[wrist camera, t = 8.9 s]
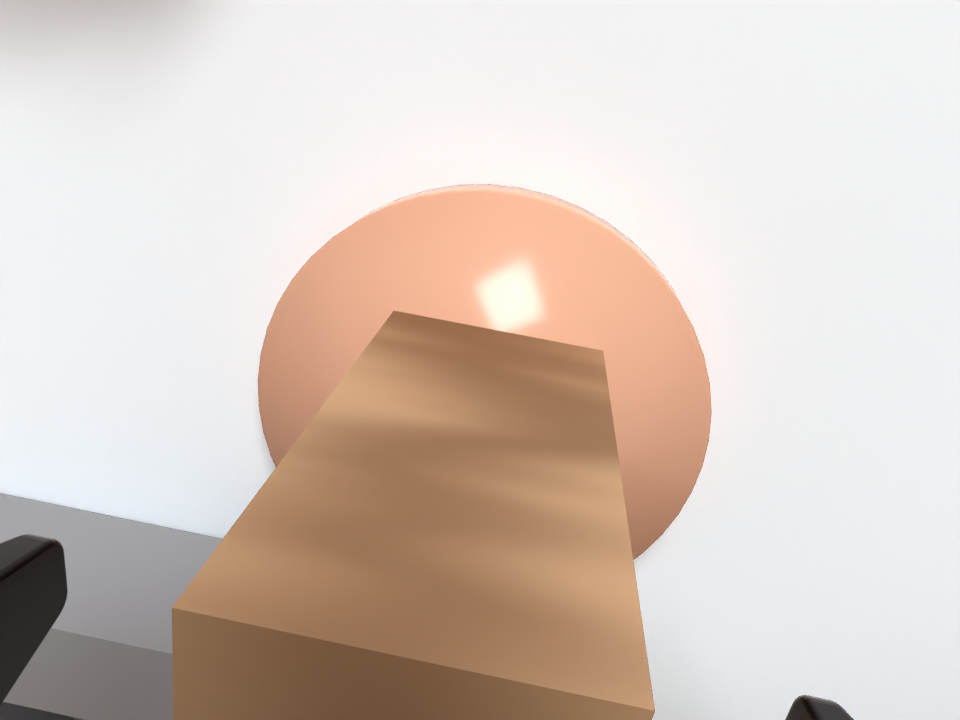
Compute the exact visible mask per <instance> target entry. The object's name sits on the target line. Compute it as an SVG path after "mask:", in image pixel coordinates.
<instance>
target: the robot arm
mask: <svg viewBox="0 0 960 720" xmlns="http://www.w3.org/2000/svg"><path fill="white" fill-rule="evenodd" d="M67 593H68V588H67V577H66V567H65V556H64V548H63V546H62V544H61V542H60V541H58V540H56V539H53V538H49V537H44V536H39V535H34V534H23V535H20V536H17V537H15V538H12V539H9V540H7V541H4V542H2V543H0V706H1V704H2V703H3V701H4V700H5V698H6V696H7V695H8V693H9V692H10V690H11V689H12V687H13V686H14V684H15V683H16V681H17V680H18V678H19V676H20V675H21V673H22V672H23V670H24V669H25V667H26V666H27V664H28V663H29V661H30V660H31V658H32V657H33V655H34V653H35V652H36V650H37V649H38V647H39V646H40V644H41V643H42V641H43V640H44V638H45V637H46V635H47V633H48V632H49V630H50V629H51V627H52V626H53V624H54V623H55V621H56V620H57V618H58V617H59V615H60V613H61V612H62V610H63V608H64V605H65V603H66V599H67ZM785 720H854V719H853V718H852V717H851V716H850V715H849V714H848V713H847V712H846V711H845V710H844V709H843V708H842V707H841V706H840V705H839V704H837V703H836V702H833V701H831V700H826V699H821V698H817V697H812V696H807V695H802V696H799V697H798V698H796V699H795V701H794V702H793V704H792V706H791V708H790V711H789V713H788V715H787V717H786V719H785Z"/></svg>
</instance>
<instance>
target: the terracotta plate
mask: <svg viewBox="0 0 960 720" xmlns="http://www.w3.org/2000/svg"><path fill="white" fill-rule="evenodd" d="M393 311H399V312H404V313H409V314H415V315H420V316H425V317H430V318H435V319H441V320H446V321H451V322H456V323H462V324H467V325H472V326H477V327H482V328H488V329H493V330H498V331H503V332H509V333H514V334H519V335H524V336H529V337H535V338H540V339H545V340H550V341H556V342H561V343H566V344H571V345H576V346H582V347H587V348H592V349H597V350H603V353H604V360H605V367H606V374H607V381H608V388H609V395H610V402H611V409H612V416H613V423H614V430H615V437H616V444H617V451H618V458H619V465H620V471H621V478H622V485H623V492H624V499H625V506H626V513H627V520H628V527H629V534H630V541H631V548H632V555H633V560H634V559H635V558H637V557H638V556H639V555H641V554H642V553H643V552H644V551H645V550H646V549H648V548H649V547H650V546H651V545H652V544H653V543H654V542H655V541H656V540H657V539H658V538H659V537H660V536H661V535H662V534H663V533H664V532H665V530H666V529H667V528H668V527H669V525H670V524H671V523H672V522H673V520H674V519H675V518H676V517H677V515H678V514H679V512H680V511H681V509H682V507H683V506H684V504H685V502H686V501H687V499H688V497H689V496H690V494H691V492H692V490H693V488H694V485H695V483H696V481H697V478H698V476H699V473H700V471H701V468H702V466H703V462H704V458H705V454H706V450H707V446H708V442H709V433H710V423H711V396H710V383H709V378H708V373H707V368H706V364H705V359H704V355H703V352H702V349H701V347H700V344H699V341H698V339H697V336H696V333H695V331H694V328H693V326H692V324H691V322H690V320H689V318H688V316H687V315H686V313H685V311H684V309H683V307H682V305H681V303H680V302H679V300H678V298H677V296H676V294H675V293H674V291H673V289H672V287H671V285H670V284H669V283H668V281H667V280H666V279H665V277H664V276H663V275H662V273H661V272H660V271H659V269H658V268H657V267H656V265H655V264H654V263H653V262H652V261H651V260H650V259H649V258H648V257H647V256H646V255H645V254H644V253H643V252H642V251H641V250H640V249H639V248H638V247H637V246H636V245H635V244H634V243H633V242H632V241H631V240H630V239H629V238H627V237H626V236H625V235H623V234H622V233H621V232H619V231H618V230H617V229H615V228H614V227H613V226H612V225H610V224H609V223H608V222H606V221H604V220H602V219H601V218H599V217H597V216H595V215H593V214H592V213H590V212H588V211H586V210H585V209H583V208H581V207H579V206H576V205H574V204H571V203H569V202H566V201H564V200H561V199H559V198H556V197H554V196H551V195H547V194H543V193H539V192H535V191H531V190H527V189H523V188H518V187H509V186H500V185H491V184H481V185H455V186H449V187H443V188H437V189H430V190H426V191H423V192H419V193H416V194H413V195H410V196H406V197H403V198H400V199H398V200H395V201H393V202H391V203H389V204H387V205H385V206H383V207H380V208H378V209H376V210H374V211H372V212H371V213H369V214H368V215H366V216H364V217H363V218H361V219H360V220H358V221H357V222H355V223H354V224H352V225H351V226H349V227H348V228H346V229H345V230H343V231H342V232H340V233H339V234H337V235H336V236H334V237H333V238H332V239H331V240H329V241H328V242H327V243H326V244H325V245H324V246H323V247H322V248H320V249H319V250H318V251H317V252H316V253H315V254H314V255H313V256H311V258H310V259H309V260H308V261H307V262H306V263H305V265H304V266H303V267H302V268H301V269H300V271H299V272H298V273H297V274H296V275H295V277H294V278H293V279H292V281H291V282H290V284H289V286H288V287H287V289H286V290H285V292H284V294H283V295H282V297H281V299H280V300H279V302H278V304H277V306H276V309H275V311H274V313H273V316H272V318H271V321H270V323H269V325H268V328H267V331H266V335H265V339H264V343H263V347H262V351H261V356H260V366H259V375H258V396H259V410H260V415H261V421H262V427H263V432H264V435H265V439H266V442H267V445H268V448H269V451H270V455H271V457H272V459H273V462H274V464H275V466H276V467H277V466H278V465H279V463H280V462H281V461H282V459H283V458H284V457H285V455H286V454H287V453H288V451H289V450H290V449H291V447H292V446H293V445H294V443H295V442H296V441H297V439H298V438H299V437H300V435H301V434H302V433H303V431H304V430H305V429H306V427H307V426H308V425H309V423H310V422H311V421H312V419H313V418H314V417H315V415H316V414H317V413H318V411H319V410H320V409H321V407H322V406H323V404H324V403H325V402H326V400H327V399H328V398H329V396H330V395H331V394H332V392H333V391H334V390H335V388H336V387H337V386H338V384H339V383H340V382H341V380H342V379H343V378H344V376H345V375H346V374H347V372H348V371H349V370H350V368H351V367H352V366H353V364H354V363H355V362H356V360H357V359H358V358H359V356H360V355H361V354H362V352H363V351H364V350H365V348H366V347H367V346H368V344H369V343H370V342H371V340H372V339H373V338H374V336H375V335H376V334H377V332H378V331H379V330H380V328H381V327H382V326H383V324H384V323H385V322H386V320H387V319H388V318H389V316H390V315H391V314H392V312H393Z"/></svg>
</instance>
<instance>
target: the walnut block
mask: <svg viewBox="0 0 960 720" xmlns="http://www.w3.org/2000/svg"><path fill="white" fill-rule="evenodd" d="M172 652H173V711H174V720H652V717H653V715H654V712H655V708H654V701H653V694H652V687H651V680H650V673H649V667H648V660H647V653H646V646H645V639H644V632H643V625H642V618H641V611H640V604H639V597H638V590H637V583H636V576H635V569H634V562H633V555H632V548H631V541H630V534H629V527H628V520H627V513H626V506H625V499H624V492H623V485H622V478H621V471H620V465H619V458H618V451H617V444H616V437H615V430H614V423H613V416H612V409H611V402H610V395H609V388H608V381H607V374H606V367H605V360H604V353H603V350H597V349H592V348H587V347H582V346H576V345H571V344H566V343H561V342H556V341H550V340H545V339H540V338H535V337H529V336H524V335H519V334H514V333H509V332H503V331H498V330H493V329H488V328H482V327H477V326H472V325H467V324H462V323H456V322H451V321H446V320H441V319H435V318H430V317H425V316H420V315H415V314H409V313H404V312H399V311H393V312H392V314H391V315H390V316H389V318H388V319H387V320H386V322H385V323H384V324H383V326H382V327H381V328H380V330H379V331H378V332H377V334H376V335H375V336H374V338H373V339H372V340H371V342H370V343H369V344H368V346H367V347H366V348H365V350H364V351H363V352H362V354H361V355H360V356H359V358H358V359H357V360H356V362H355V363H354V364H353V366H352V367H351V368H350V370H349V371H348V372H347V374H346V375H345V376H344V378H343V379H342V380H341V382H340V383H339V384H338V386H337V387H336V388H335V390H334V391H333V392H332V394H331V395H330V396H329V398H328V399H327V400H326V402H325V403H324V404H323V406H322V407H321V409H320V410H319V411H318V413H317V414H316V415H315V417H314V418H313V419H312V421H311V422H310V423H309V425H308V426H307V427H306V429H305V430H304V431H303V433H302V434H301V435H300V437H299V438H298V439H297V441H296V442H295V443H294V445H293V446H292V447H291V449H290V450H289V451H288V453H287V454H286V455H285V457H284V458H283V459H282V461H281V462H280V463H279V465H278V466H277V467H276V469H275V470H274V471H273V473H272V474H271V475H270V477H269V478H268V479H267V481H266V482H265V483H264V485H263V486H262V487H261V489H260V490H259V491H258V493H257V494H256V495H255V497H254V498H253V499H252V501H251V502H250V503H249V505H248V506H247V508H246V509H245V510H244V512H243V513H242V514H241V516H240V517H239V518H238V520H237V521H236V522H235V524H234V525H233V526H232V528H231V529H230V530H229V532H228V533H227V534H226V536H225V537H224V538H223V540H222V541H221V542H220V544H219V545H218V546H217V548H216V549H215V550H214V552H213V553H212V554H211V556H210V557H209V558H208V560H207V561H206V562H205V564H204V565H203V566H202V568H201V569H200V570H199V572H198V573H197V574H196V576H195V577H194V578H193V580H192V581H191V582H190V584H189V585H188V586H187V588H186V589H185V590H184V592H183V593H182V594H181V596H180V597H179V598H178V600H177V601H176V602H175V604H174V605H173V607H172Z"/></svg>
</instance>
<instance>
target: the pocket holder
mask: <svg viewBox="0 0 960 720" xmlns="http://www.w3.org/2000/svg"><path fill="white" fill-rule="evenodd" d="M23 534H34V535H39V536H44V537H49V538H53V539H56V540H58V541H60V542H61V544H62V546H63V548H64V556H65V567H66V577H67V588H68V593H67V599H66V603H65V605H64V608H63V610H62V612H61V613H60V615H59V617H58V618H57V620H56V621H55V623H54V624H53V626H52V627H51V629H50V630H49V632H48V633H47V635H46V637H45V638H44V640H43V641H42V643H41V644H40V646H39V647H38V649H37V650H36V652H35V653H34V655H33V657H32V658H31V660H30V661H29V663H28V664H27V666H26V667H25V669H24V670H23V672H22V673H21V675H20V676H19V678H18V680H17V681H16V683H15V684H14V686H13V687H12V689H11V690H10V692H9V693H8V695H7V696H6V698H5V700H4V701H3V703H2V704H1V706H0V720H174V711H173V652H172V607H173V605H174V604H175V602H176V601H177V600H178V598H179V597H180V596H181V594H182V593H183V592H184V590H185V589H186V588H187V586H188V585H189V584H190V582H191V581H192V580H193V578H194V577H195V576H196V574H197V573H198V572H199V570H200V569H201V568H202V566H203V565H204V564H205V562H206V561H207V560H208V558H209V557H210V556H211V554H212V553H213V552H214V550H215V549H216V548H217V546H218V545H219V544H220V542H221V541H222V540H223V539H220V538H215V537H210V536H205V535H200V534H196V533H191V532H186V531H181V530H176V529H171V528H166V527H162V526H157V525H152V524H147V523H142V522H137V521H132V520H128V519H123V518H118V517H113V516H108V515H103V514H98V513H94V512H89V511H84V510H79V509H74V508H69V507H64V506H59V505H55V504H50V503H45V502H40V501H35V500H30V499H25V498H21V497H16V496H11V495H6V494H1V493H0V543H2V542H4V541H7V540H9V539H12V538H15V537H17V536H20V535H23Z"/></svg>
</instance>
